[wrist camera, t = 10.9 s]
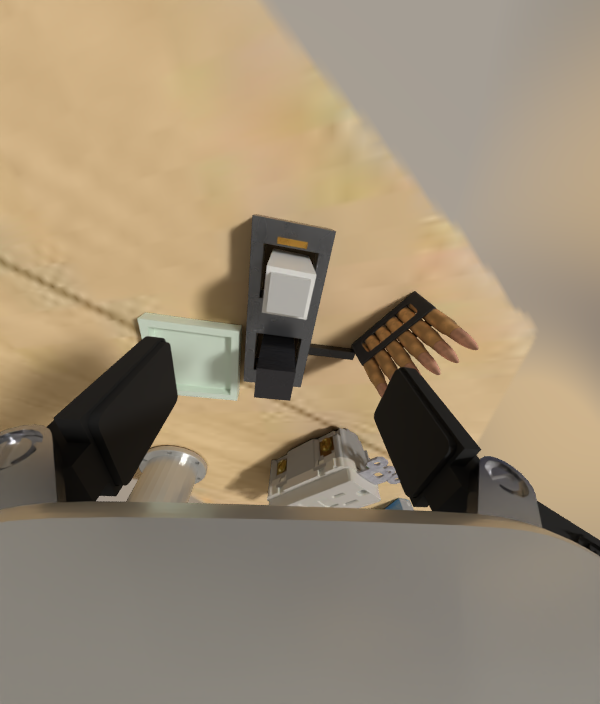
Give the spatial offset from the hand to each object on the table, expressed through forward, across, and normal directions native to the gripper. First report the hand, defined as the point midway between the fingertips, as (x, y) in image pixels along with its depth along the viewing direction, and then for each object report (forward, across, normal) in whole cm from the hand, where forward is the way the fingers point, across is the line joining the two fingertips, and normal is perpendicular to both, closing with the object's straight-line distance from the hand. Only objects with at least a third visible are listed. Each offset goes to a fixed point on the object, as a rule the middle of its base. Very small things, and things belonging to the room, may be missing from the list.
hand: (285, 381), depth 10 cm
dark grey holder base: (+20, -4, +5) cm, 21 cm away
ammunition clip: (+20, -14, +5) cm, 25 cm away
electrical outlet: (+21, -11, +35) cm, 42 cm away
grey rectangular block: (+20, 0, 0) cm, 20 cm away
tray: (+20, +11, +14) cm, 27 cm away
